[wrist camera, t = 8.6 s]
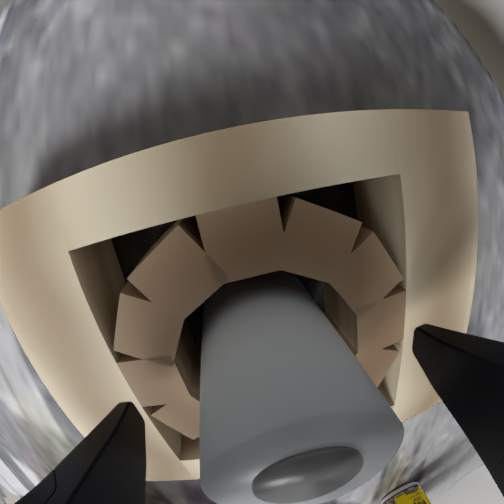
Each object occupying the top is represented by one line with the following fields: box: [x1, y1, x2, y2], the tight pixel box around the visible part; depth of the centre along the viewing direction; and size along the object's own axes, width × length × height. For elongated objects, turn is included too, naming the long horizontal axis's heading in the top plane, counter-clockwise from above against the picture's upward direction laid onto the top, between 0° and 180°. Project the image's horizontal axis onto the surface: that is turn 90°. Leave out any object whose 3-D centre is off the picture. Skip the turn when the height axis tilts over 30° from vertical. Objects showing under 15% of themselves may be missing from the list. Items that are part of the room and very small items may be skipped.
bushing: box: [200, 270, 404, 504], centre depth 8 cm, size 4×4×8 cm
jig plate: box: [0, 109, 478, 481], centre depth 11 cm, size 18×14×4 cm
